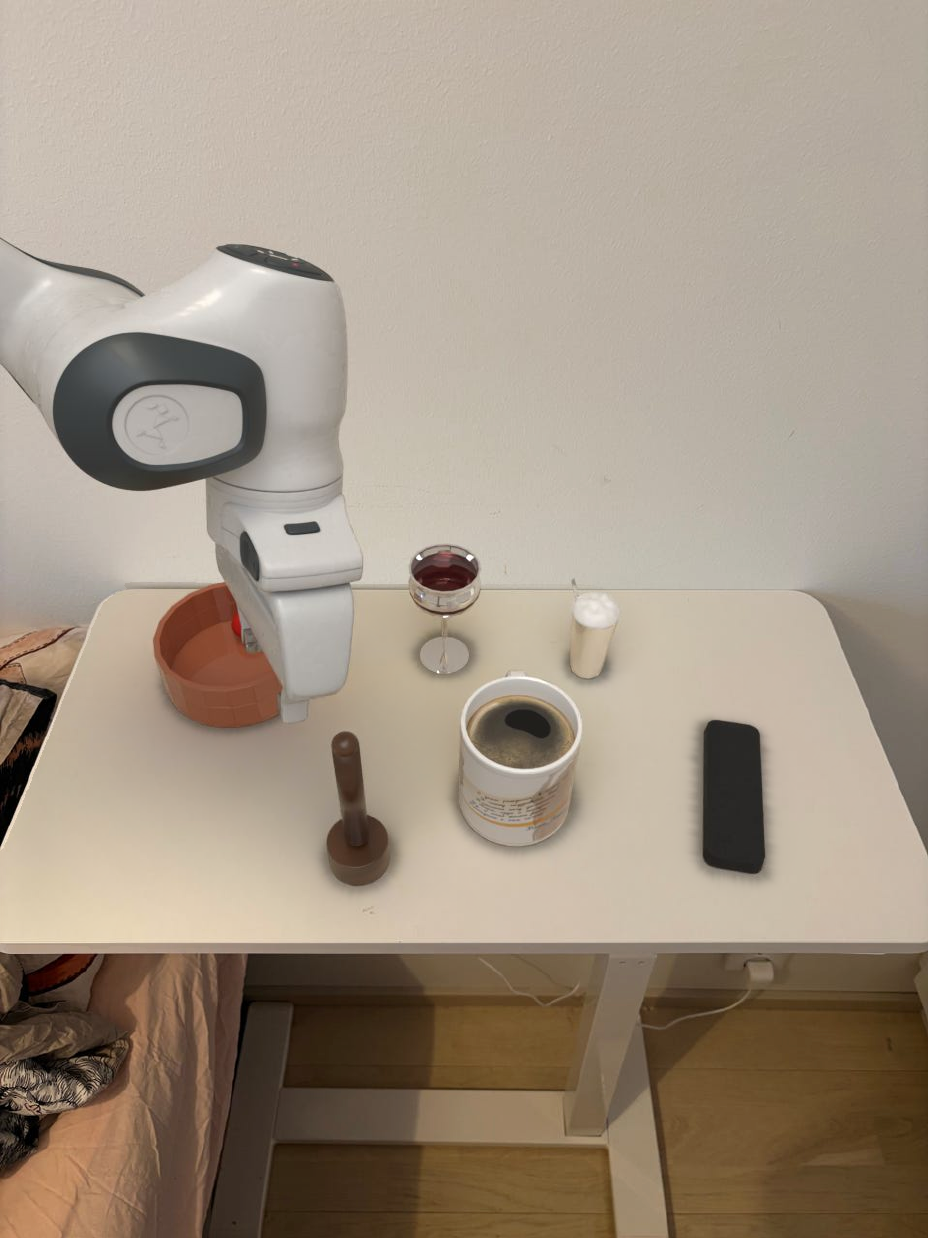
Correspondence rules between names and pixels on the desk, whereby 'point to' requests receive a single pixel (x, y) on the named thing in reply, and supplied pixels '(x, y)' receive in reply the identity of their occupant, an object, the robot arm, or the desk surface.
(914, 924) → the desk surface
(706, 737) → the remote control
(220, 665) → the bowl
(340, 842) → the brown plunger
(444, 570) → the wineglass
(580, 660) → the milkshake
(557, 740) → the mug
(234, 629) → the tomato
